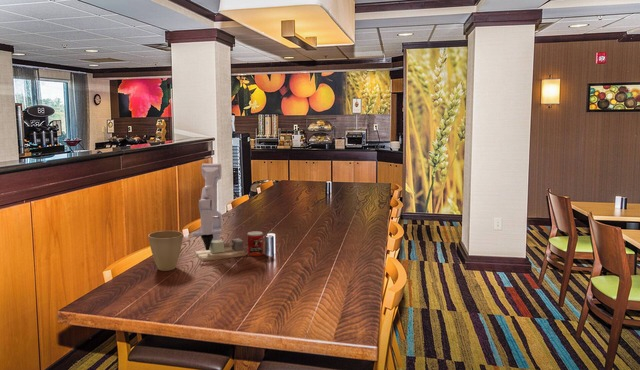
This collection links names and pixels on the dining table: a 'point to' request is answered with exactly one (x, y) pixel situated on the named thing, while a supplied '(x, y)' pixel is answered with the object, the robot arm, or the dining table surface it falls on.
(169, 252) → the plant pot
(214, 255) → the stud board
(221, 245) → the pale green cube
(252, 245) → the canned food
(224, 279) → the dining table surface
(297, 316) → the dining table surface
